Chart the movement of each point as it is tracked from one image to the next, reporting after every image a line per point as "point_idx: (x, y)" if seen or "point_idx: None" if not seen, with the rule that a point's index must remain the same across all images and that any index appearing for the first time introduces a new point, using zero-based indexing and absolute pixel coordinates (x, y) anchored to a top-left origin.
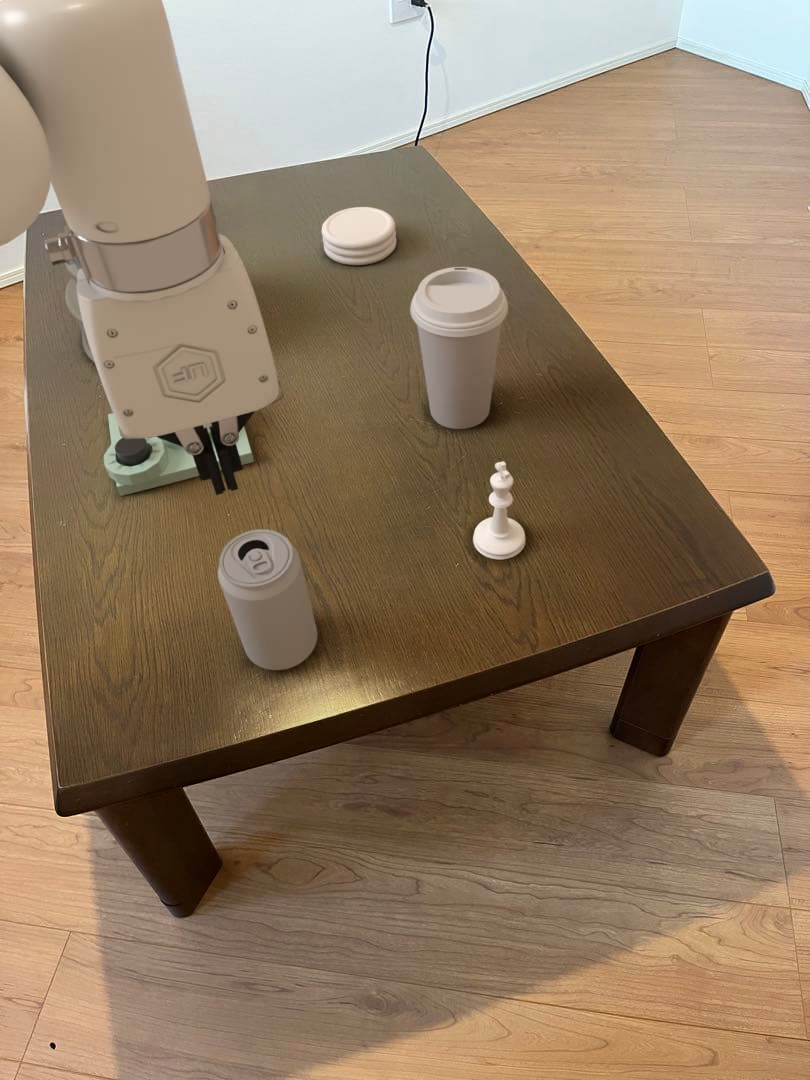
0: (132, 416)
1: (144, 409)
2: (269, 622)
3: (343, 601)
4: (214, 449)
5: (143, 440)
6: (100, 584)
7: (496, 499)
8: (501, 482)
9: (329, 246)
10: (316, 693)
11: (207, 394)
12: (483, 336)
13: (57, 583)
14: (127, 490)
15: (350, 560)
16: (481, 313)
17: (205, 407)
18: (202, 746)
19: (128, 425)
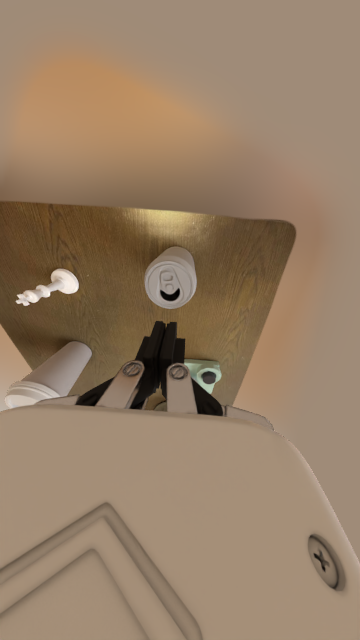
0: (308, 533)
1: (273, 557)
2: (176, 252)
3: (143, 277)
4: None
5: (203, 380)
6: (240, 327)
7: (44, 291)
8: (29, 294)
9: None
10: (168, 227)
11: (66, 530)
12: (27, 378)
13: (255, 334)
14: (215, 362)
15: (136, 297)
16: (15, 392)
17: (104, 470)
18: (230, 219)
19: (309, 489)
